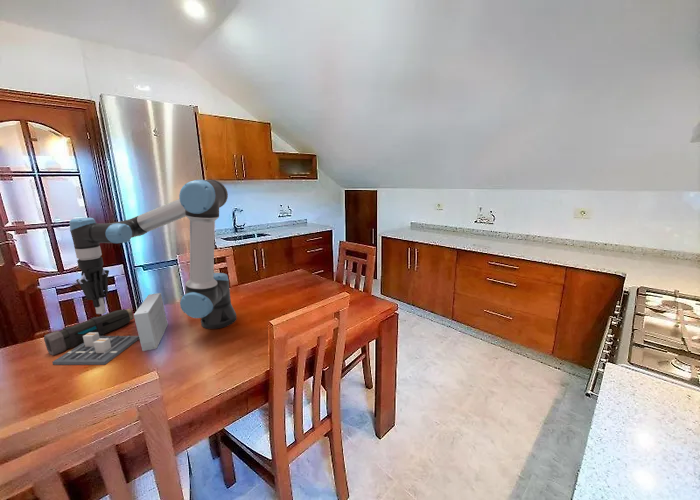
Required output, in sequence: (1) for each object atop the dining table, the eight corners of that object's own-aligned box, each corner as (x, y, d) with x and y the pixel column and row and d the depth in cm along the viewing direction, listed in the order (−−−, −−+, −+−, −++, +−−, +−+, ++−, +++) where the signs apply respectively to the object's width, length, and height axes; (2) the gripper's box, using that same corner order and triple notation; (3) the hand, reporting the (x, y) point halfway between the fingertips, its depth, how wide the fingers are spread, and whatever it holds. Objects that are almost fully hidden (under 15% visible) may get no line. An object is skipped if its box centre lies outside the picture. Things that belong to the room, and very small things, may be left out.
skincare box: (154, 327, 134) (148, 294, 131) (168, 324, 136) (162, 292, 132) (140, 351, 115) (132, 314, 111) (156, 349, 117) (149, 311, 113)
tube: (138, 329, 138) (53, 357, 111) (130, 330, 141) (45, 356, 114) (134, 306, 138) (47, 328, 111) (125, 307, 141) (39, 329, 114)
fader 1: (100, 342, 119) (98, 332, 118) (94, 346, 116) (91, 336, 115) (91, 342, 119) (89, 332, 118) (85, 346, 116) (82, 336, 115)
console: (139, 338, 125) (138, 334, 124) (105, 364, 107) (103, 359, 107) (94, 338, 125) (93, 334, 125) (53, 364, 108) (51, 359, 107)
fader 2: (111, 348, 115) (109, 338, 114) (105, 353, 112) (102, 342, 111) (102, 348, 115) (99, 338, 114) (95, 353, 112) (93, 342, 111)
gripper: (94, 253, 123) (105, 306, 129) (64, 262, 110) (78, 320, 116) (112, 253, 123) (122, 306, 128) (84, 262, 110) (97, 320, 116)
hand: (101, 313), depth 122 cm, fingers closed
